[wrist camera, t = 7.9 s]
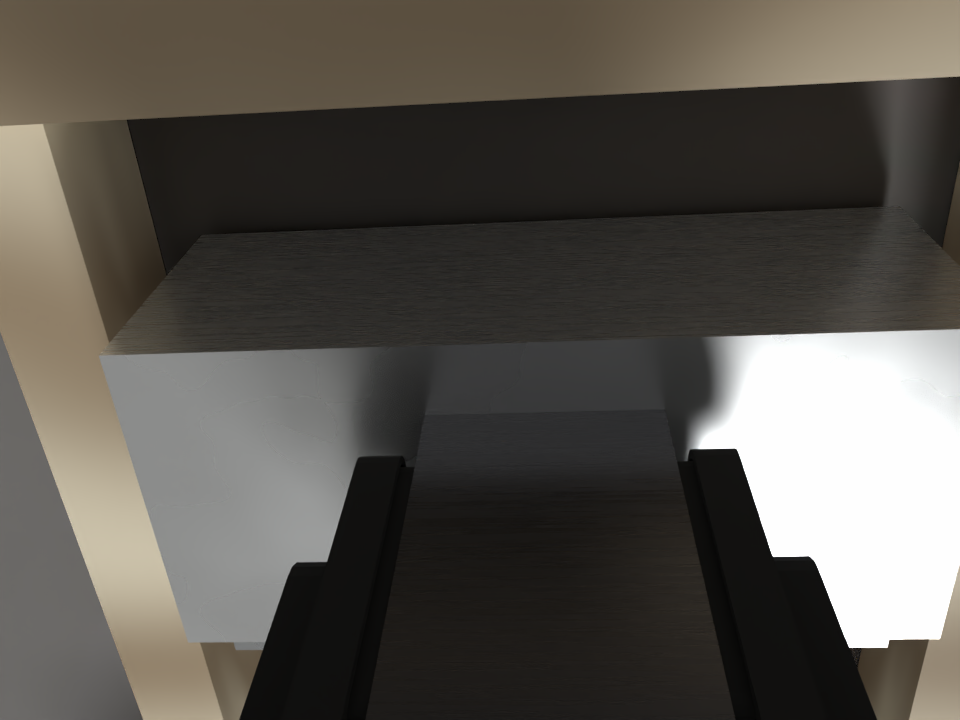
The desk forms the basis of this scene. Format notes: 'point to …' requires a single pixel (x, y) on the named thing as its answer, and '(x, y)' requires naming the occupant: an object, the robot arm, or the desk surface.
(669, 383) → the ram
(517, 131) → the desk surface
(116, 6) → the press frame
